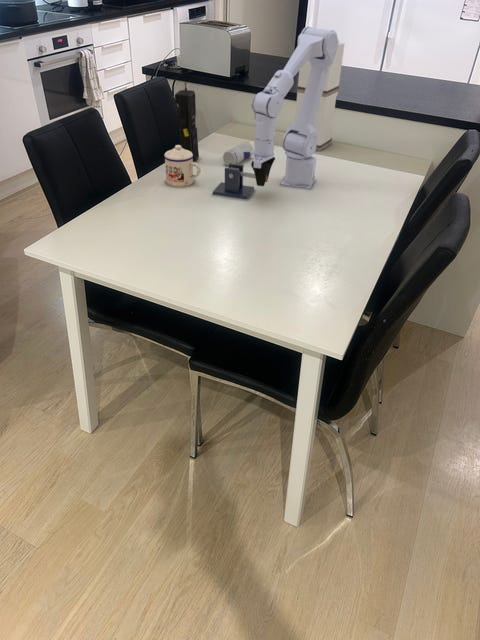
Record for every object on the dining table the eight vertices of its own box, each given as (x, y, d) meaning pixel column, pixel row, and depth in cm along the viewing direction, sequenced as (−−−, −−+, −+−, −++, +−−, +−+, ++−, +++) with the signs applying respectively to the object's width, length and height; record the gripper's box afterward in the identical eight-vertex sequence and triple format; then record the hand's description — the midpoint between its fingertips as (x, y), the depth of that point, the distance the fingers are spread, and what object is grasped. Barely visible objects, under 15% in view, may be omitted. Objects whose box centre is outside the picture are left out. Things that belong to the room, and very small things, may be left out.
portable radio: (193, 165, 176) (191, 88, 161) (176, 164, 177) (173, 87, 161) (199, 158, 182) (197, 83, 167) (183, 156, 183) (180, 81, 168)
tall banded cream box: (331, 143, 198) (344, 43, 177) (319, 151, 191) (332, 47, 170) (304, 138, 203) (315, 39, 182) (292, 145, 196) (301, 43, 175)
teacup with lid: (160, 184, 162) (157, 147, 155) (174, 174, 169) (172, 139, 162) (193, 191, 158) (192, 154, 151) (206, 181, 165) (206, 145, 158)
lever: (268, 181, 154) (269, 171, 152) (265, 185, 152) (266, 175, 150) (230, 174, 156) (231, 165, 155) (227, 178, 154) (228, 168, 152)
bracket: (254, 190, 160) (255, 164, 155) (247, 200, 154) (247, 173, 149) (221, 185, 162) (221, 160, 157) (212, 195, 156) (212, 168, 151)
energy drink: (234, 168, 175) (252, 159, 183) (236, 153, 172) (254, 144, 180) (221, 164, 177) (240, 154, 185) (223, 149, 173) (242, 140, 182)
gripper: (257, 129, 152) (255, 173, 160) (243, 143, 141) (242, 190, 149) (280, 131, 150) (277, 176, 158) (268, 147, 139) (265, 193, 147)
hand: (262, 183), depth 154 cm, fingers closed on lever, 3 cm apart
